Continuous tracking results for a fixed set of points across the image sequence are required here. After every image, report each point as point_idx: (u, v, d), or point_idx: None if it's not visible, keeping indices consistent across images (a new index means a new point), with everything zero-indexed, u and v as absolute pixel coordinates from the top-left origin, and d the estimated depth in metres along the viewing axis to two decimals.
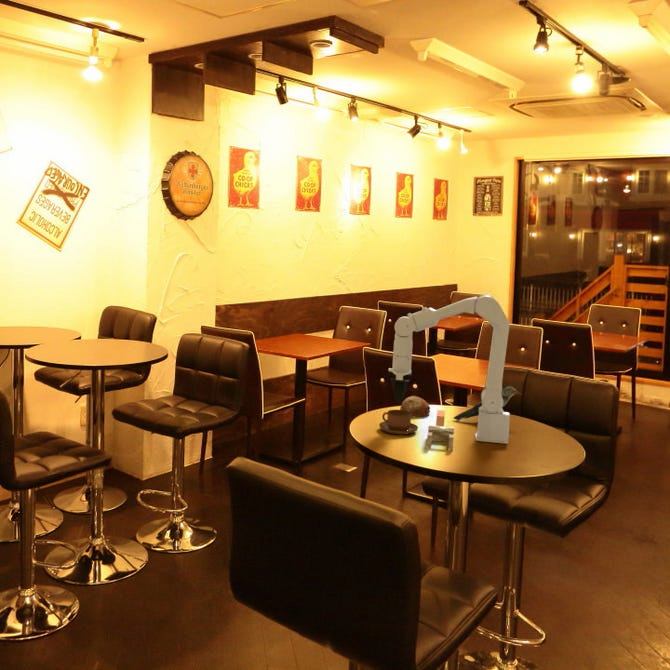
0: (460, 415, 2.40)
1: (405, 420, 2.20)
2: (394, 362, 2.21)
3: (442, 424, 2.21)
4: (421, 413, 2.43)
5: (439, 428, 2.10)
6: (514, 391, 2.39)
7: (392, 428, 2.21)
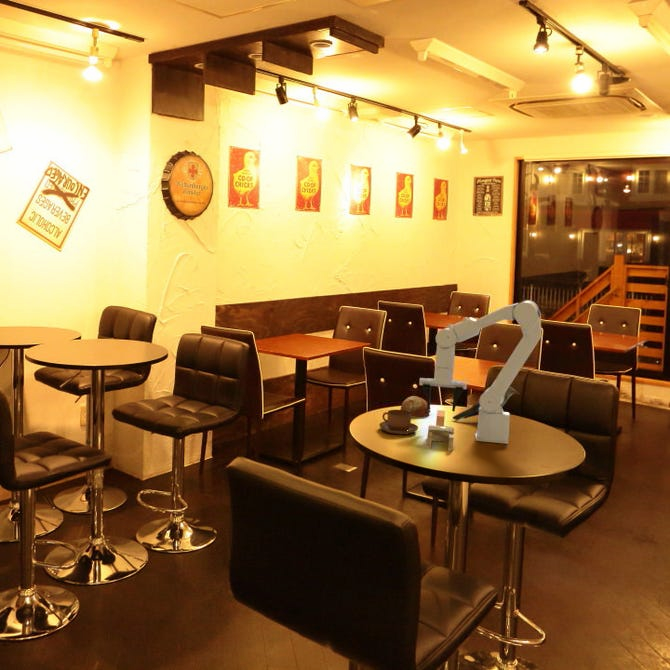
0: (459, 415, 2.40)
1: (405, 420, 2.20)
2: None
3: (442, 424, 2.21)
4: (421, 413, 2.43)
5: (439, 428, 2.10)
6: (513, 391, 2.39)
7: (392, 428, 2.21)
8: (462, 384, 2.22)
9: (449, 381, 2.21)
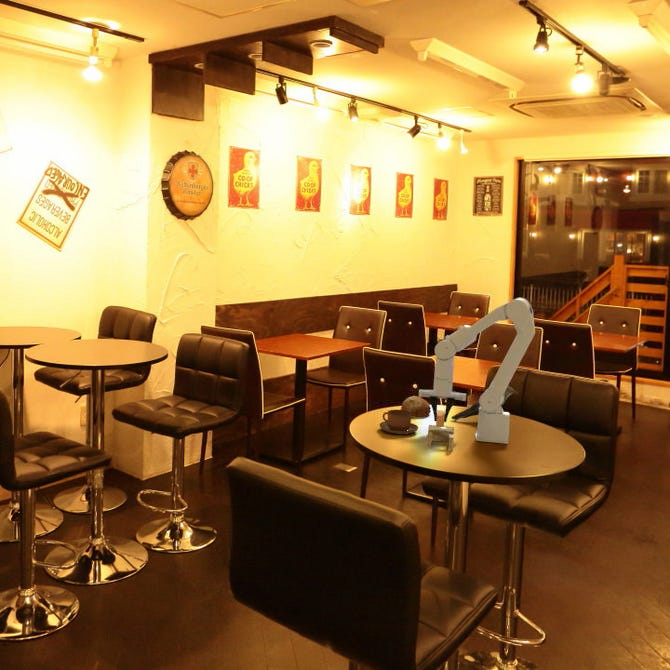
0: (458, 415, 2.40)
1: (405, 420, 2.20)
2: None
3: (442, 424, 2.21)
4: (422, 413, 2.43)
5: (439, 428, 2.10)
6: (511, 390, 2.39)
7: (392, 428, 2.21)
8: (461, 396, 2.22)
9: (448, 393, 2.22)
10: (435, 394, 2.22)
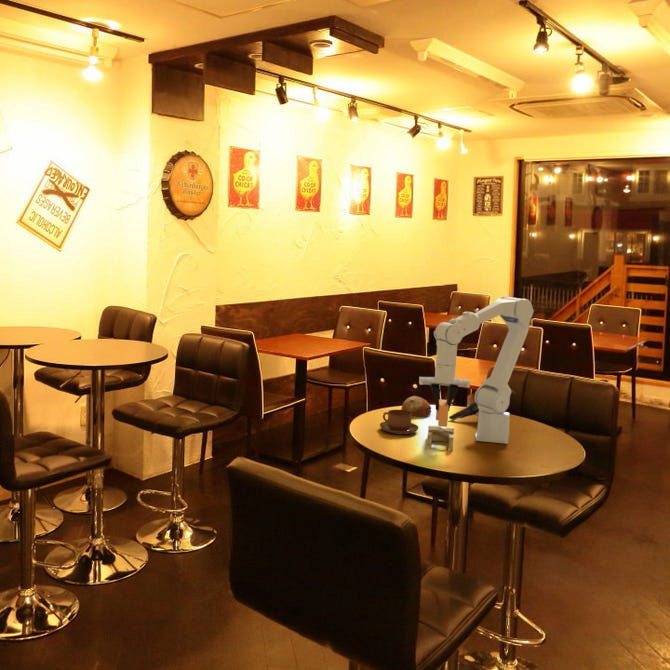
0: (455, 415, 2.40)
1: (405, 420, 2.20)
2: None
3: (446, 414, 2.06)
4: (422, 413, 2.43)
5: (439, 428, 2.10)
6: None
7: (393, 428, 2.21)
8: (465, 382, 2.08)
9: (452, 379, 2.07)
10: (438, 381, 2.07)
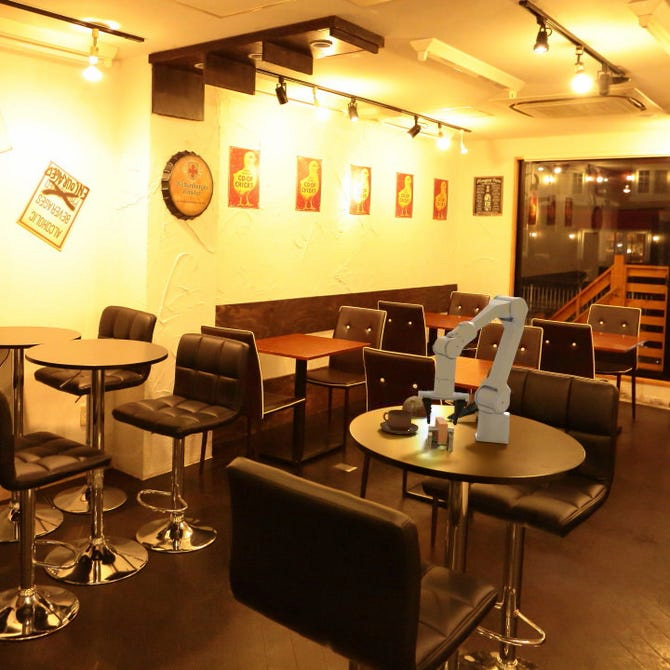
0: (453, 415, 2.40)
1: (405, 420, 2.20)
2: None
3: (445, 432, 2.07)
4: (423, 413, 2.43)
5: None
6: None
7: (393, 428, 2.21)
8: (464, 396, 2.08)
9: (451, 393, 2.07)
10: (437, 395, 2.07)
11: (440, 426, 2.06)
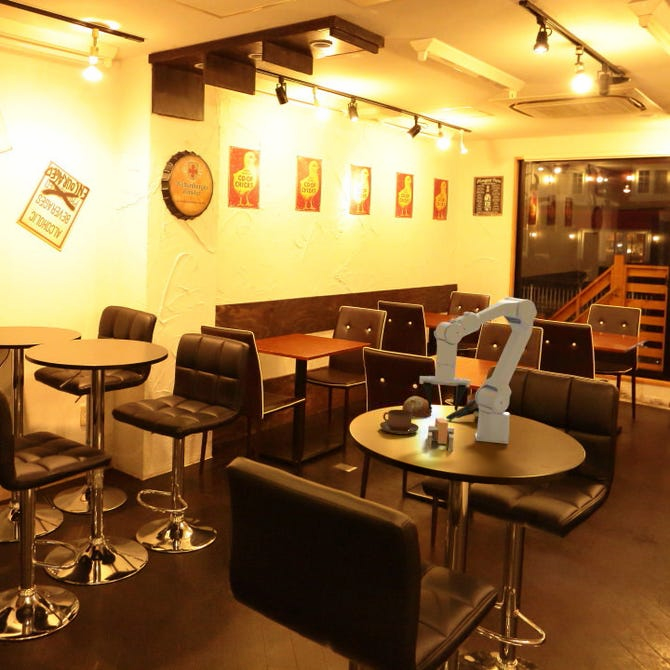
0: (452, 415, 2.40)
1: (405, 420, 2.20)
2: None
3: (445, 431, 2.06)
4: (423, 413, 2.43)
5: None
6: None
7: (393, 428, 2.21)
8: (465, 381, 2.09)
9: (451, 379, 2.09)
10: (437, 380, 2.09)
11: (440, 425, 2.06)
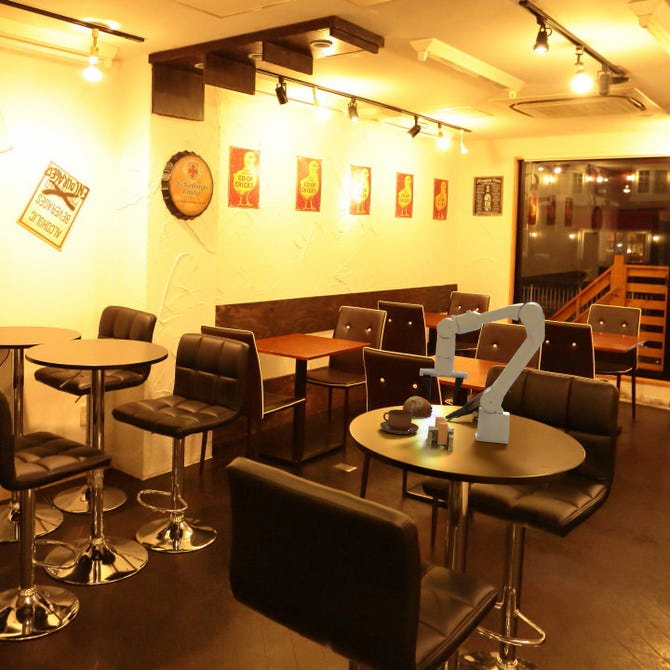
0: (451, 414, 2.40)
1: (406, 420, 2.20)
2: None
3: (445, 432, 2.07)
4: (423, 413, 2.43)
5: None
6: None
7: (393, 428, 2.21)
8: (463, 374, 2.20)
9: (450, 371, 2.20)
10: (436, 373, 2.20)
11: (440, 426, 2.06)
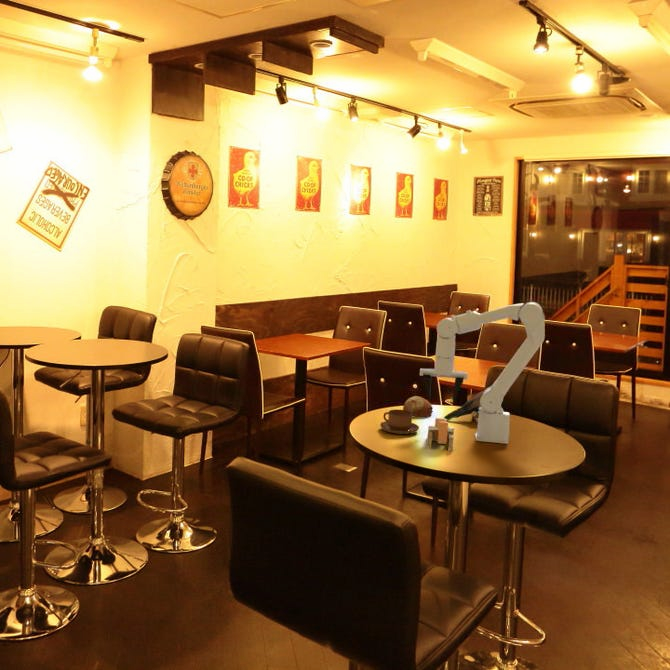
0: (450, 414, 2.40)
1: (406, 420, 2.20)
2: None
3: (445, 431, 2.06)
4: (424, 413, 2.43)
5: None
6: None
7: (393, 428, 2.21)
8: (463, 374, 2.20)
9: (450, 371, 2.20)
10: (436, 373, 2.20)
11: (440, 425, 2.06)
